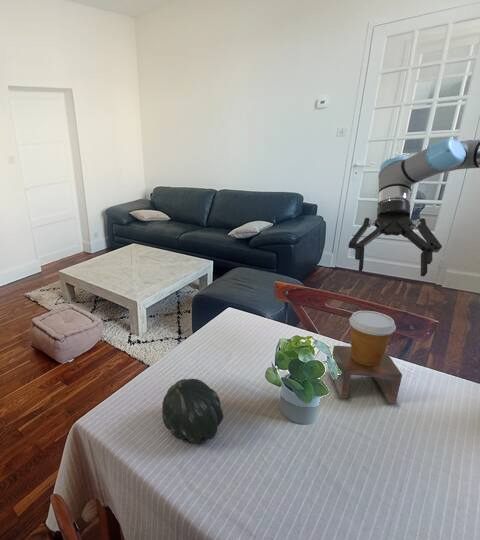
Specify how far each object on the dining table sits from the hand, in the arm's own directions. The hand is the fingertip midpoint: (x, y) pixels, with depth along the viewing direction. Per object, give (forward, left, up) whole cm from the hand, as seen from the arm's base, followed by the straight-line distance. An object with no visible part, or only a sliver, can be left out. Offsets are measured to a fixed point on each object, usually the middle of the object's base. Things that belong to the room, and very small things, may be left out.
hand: (391, 271), depth 92 cm
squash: (+50, +37, -28) cm, 69 cm away
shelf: (+8, +14, -28) cm, 32 cm away
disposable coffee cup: (+8, +14, -19) cm, 25 cm away
